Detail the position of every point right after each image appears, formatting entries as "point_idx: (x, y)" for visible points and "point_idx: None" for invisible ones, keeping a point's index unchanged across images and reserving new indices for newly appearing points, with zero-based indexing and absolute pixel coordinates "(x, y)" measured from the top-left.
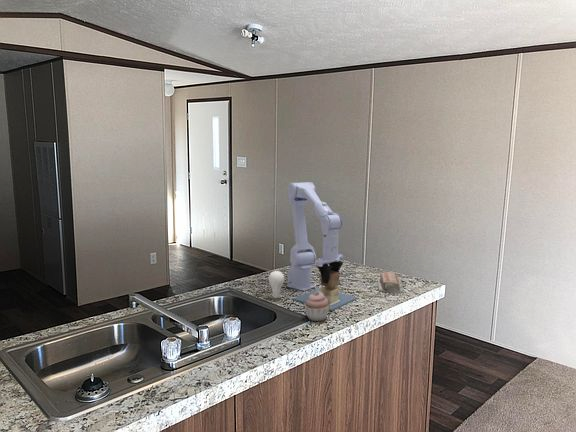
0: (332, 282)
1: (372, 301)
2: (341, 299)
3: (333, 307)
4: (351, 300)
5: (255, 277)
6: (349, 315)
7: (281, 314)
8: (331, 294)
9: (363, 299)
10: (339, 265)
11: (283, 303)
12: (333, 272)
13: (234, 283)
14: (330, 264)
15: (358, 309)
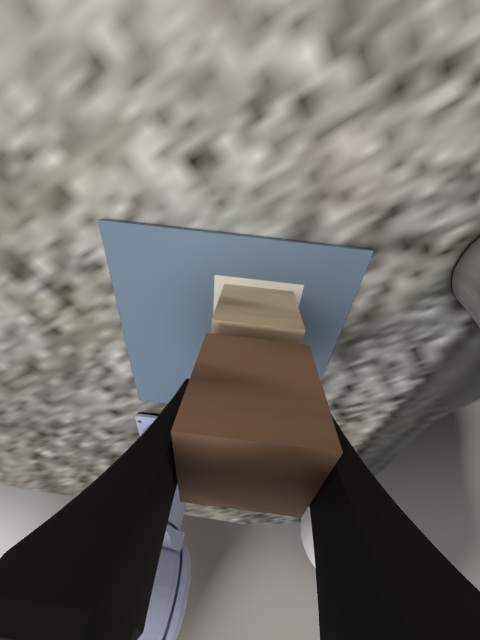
0: (304, 374)
1: (51, 98)
2: (194, 279)
3: (333, 258)
4: (165, 227)
5: (197, 511)
6: (409, 100)
7: (476, 391)
8: (298, 317)
9: (78, 181)
10: (116, 560)
11: (351, 422)
12: (229, 464)
13: (263, 521)
14: (151, 579)
15: (259, 106)
